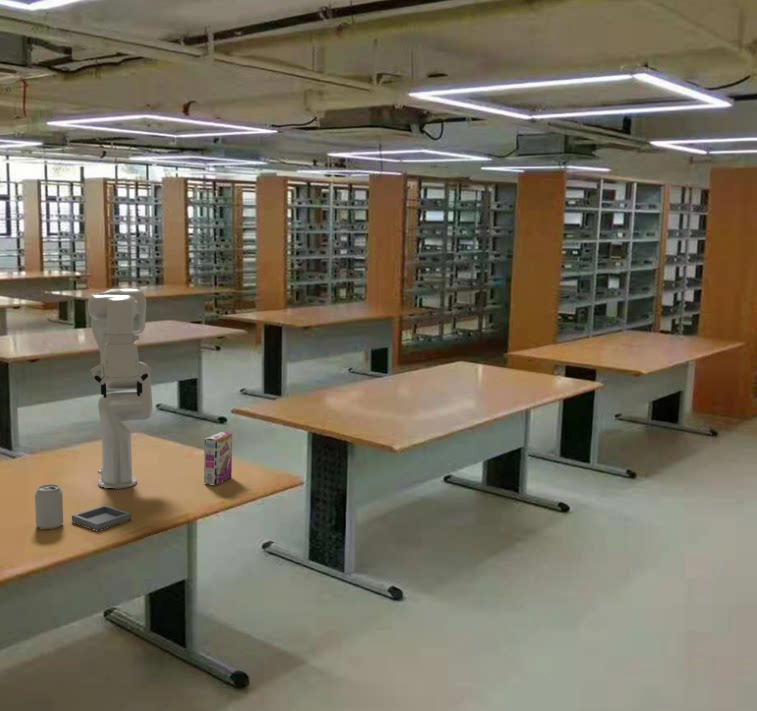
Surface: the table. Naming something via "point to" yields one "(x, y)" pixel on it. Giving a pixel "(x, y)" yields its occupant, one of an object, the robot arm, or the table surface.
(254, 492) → the table surface
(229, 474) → the candy bar box
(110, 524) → the tray
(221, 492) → the table surface
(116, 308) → the robot arm
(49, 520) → the can
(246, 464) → the table surface
